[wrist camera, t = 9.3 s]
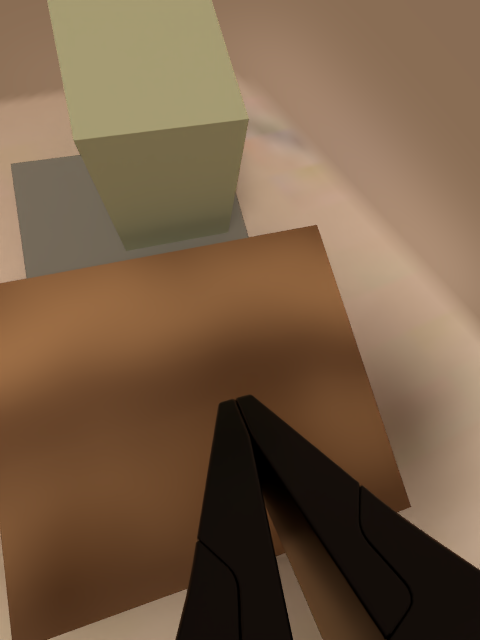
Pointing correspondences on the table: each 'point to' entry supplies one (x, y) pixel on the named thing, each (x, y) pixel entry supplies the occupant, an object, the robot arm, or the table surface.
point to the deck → (160, 412)
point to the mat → (80, 220)
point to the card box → (153, 113)
